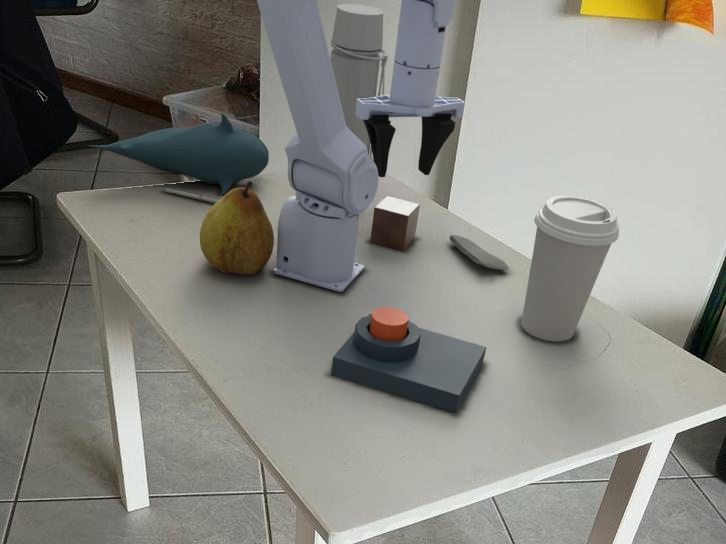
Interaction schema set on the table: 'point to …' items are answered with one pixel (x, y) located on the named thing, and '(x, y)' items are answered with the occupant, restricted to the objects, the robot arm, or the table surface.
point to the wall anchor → (191, 195)
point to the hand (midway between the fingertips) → (401, 173)
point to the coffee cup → (566, 263)
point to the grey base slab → (411, 364)
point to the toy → (199, 152)
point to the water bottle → (357, 61)
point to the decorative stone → (478, 253)
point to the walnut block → (394, 223)
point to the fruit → (237, 233)
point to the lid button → (389, 324)
